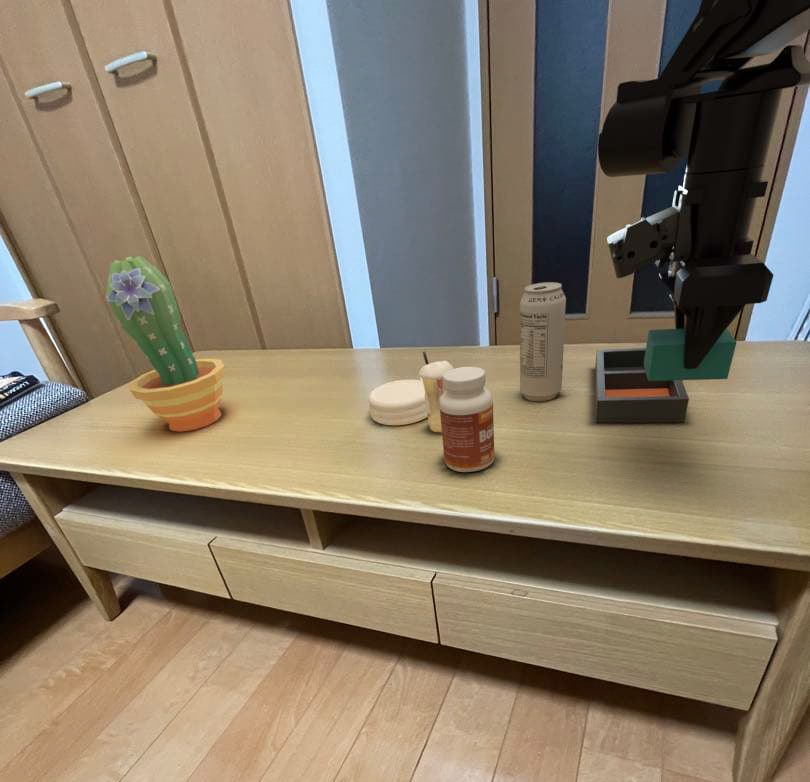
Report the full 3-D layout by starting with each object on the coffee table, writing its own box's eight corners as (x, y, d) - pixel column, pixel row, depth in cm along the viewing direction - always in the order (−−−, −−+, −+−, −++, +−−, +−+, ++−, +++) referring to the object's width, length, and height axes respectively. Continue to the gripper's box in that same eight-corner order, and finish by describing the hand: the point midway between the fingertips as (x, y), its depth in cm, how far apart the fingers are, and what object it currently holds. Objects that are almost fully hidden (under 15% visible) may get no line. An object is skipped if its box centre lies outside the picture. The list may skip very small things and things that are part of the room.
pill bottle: (490, 475, 61) (486, 383, 54) (439, 473, 63) (429, 384, 56) (498, 450, 65) (496, 362, 59) (451, 449, 67) (443, 364, 61)
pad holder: (594, 369, 83) (596, 350, 81) (666, 367, 80) (670, 346, 78) (595, 423, 68) (597, 400, 66) (684, 422, 65) (689, 398, 63)
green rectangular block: (717, 361, 53) (725, 326, 51) (727, 379, 50) (736, 342, 47) (643, 363, 55) (648, 329, 53) (648, 381, 51) (653, 345, 49)
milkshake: (444, 416, 76) (438, 347, 70) (463, 428, 72) (458, 355, 66) (417, 425, 75) (408, 355, 69) (435, 437, 70) (427, 365, 65)
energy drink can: (570, 394, 76) (576, 284, 67) (536, 406, 74) (538, 294, 66) (544, 384, 81) (546, 279, 72) (512, 394, 79) (510, 288, 70)
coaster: (357, 419, 79) (353, 397, 77) (401, 395, 85) (398, 374, 83) (405, 432, 73) (401, 408, 71) (449, 406, 79) (447, 383, 77)
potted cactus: (129, 438, 86) (47, 272, 71) (189, 401, 97) (129, 251, 82) (202, 442, 80) (131, 263, 65) (257, 402, 91) (206, 242, 77)
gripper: (613, 174, 52) (598, 334, 61) (625, 192, 38) (603, 397, 47) (740, 158, 49) (703, 329, 58) (805, 171, 34) (742, 395, 44)
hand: (685, 358), depth 52 cm, fingers closed on green rectangular block, 5 cm apart
